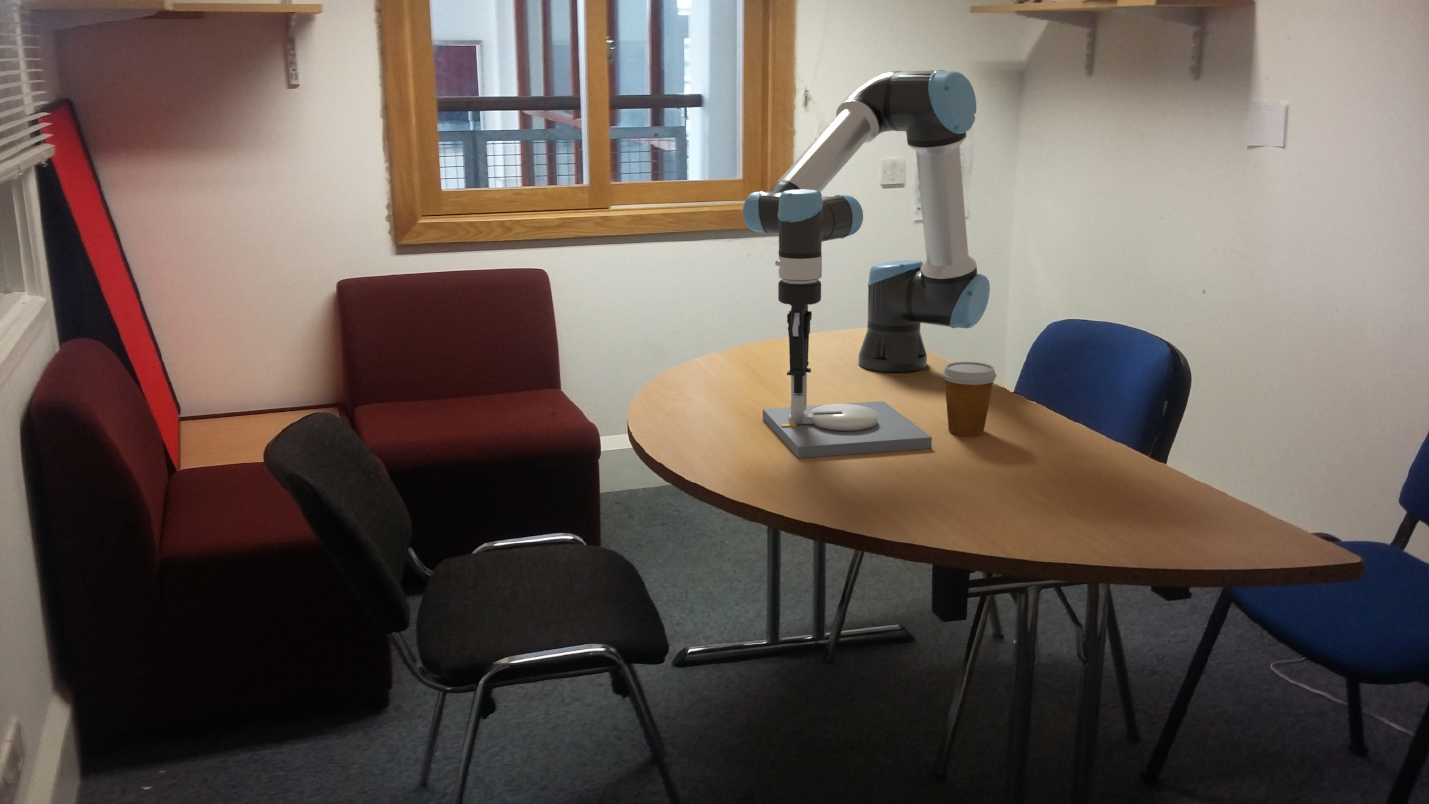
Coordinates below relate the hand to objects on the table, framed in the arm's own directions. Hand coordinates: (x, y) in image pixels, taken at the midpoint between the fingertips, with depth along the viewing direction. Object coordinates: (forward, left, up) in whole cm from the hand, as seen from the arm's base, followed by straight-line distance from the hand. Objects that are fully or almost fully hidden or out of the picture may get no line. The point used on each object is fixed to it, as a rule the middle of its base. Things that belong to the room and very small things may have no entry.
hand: (798, 408), depth 210 cm
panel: (-8, +3, -4) cm, 9 cm away
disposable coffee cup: (-30, +7, -5) cm, 31 cm away
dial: (-6, +2, -2) cm, 7 cm away
